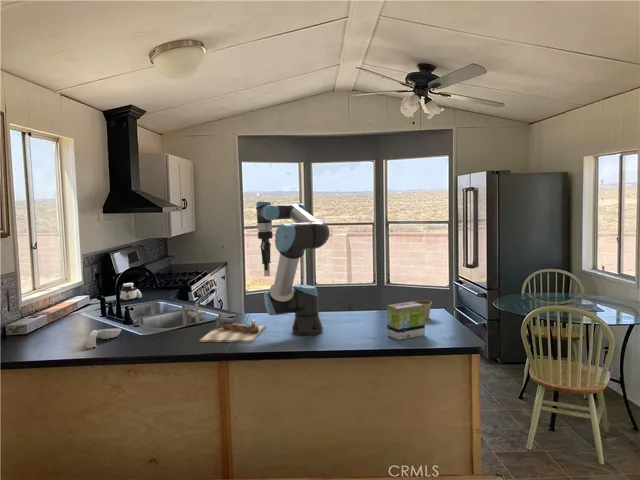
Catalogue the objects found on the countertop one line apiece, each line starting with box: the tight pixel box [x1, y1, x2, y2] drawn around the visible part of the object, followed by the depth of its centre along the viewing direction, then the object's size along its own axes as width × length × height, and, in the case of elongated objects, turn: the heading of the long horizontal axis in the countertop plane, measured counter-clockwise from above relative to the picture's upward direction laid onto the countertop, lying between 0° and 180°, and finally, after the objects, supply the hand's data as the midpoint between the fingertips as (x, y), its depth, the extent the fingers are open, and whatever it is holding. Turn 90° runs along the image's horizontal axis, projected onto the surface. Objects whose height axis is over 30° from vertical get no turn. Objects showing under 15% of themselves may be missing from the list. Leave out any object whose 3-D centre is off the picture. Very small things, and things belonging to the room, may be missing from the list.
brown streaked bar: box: [221, 322, 259, 333], centre depth 238 cm, size 22×5×3 cm, turn 58°
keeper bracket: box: [215, 316, 236, 328], centre depth 245 cm, size 11×3×5 cm, turn 56°
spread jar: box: [120, 282, 143, 302], centre depth 336 cm, size 12×11×12 cm
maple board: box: [199, 325, 267, 343], centre depth 235 cm, size 26×25×1 cm
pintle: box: [250, 319, 256, 326], centre depth 233 cm, size 2×2×3 cm
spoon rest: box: [85, 328, 122, 349], centre depth 233 cm, size 24×12×7 cm, turn 179°
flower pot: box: [414, 300, 433, 320], centre depth 252 cm, size 9×9×9 cm
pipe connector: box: [187, 304, 207, 324], centre depth 262 cm, size 10×10×10 cm
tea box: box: [386, 301, 426, 341], centre depth 221 cm, size 15×10×15 cm
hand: (267, 276), depth 248 cm, fingers closed
